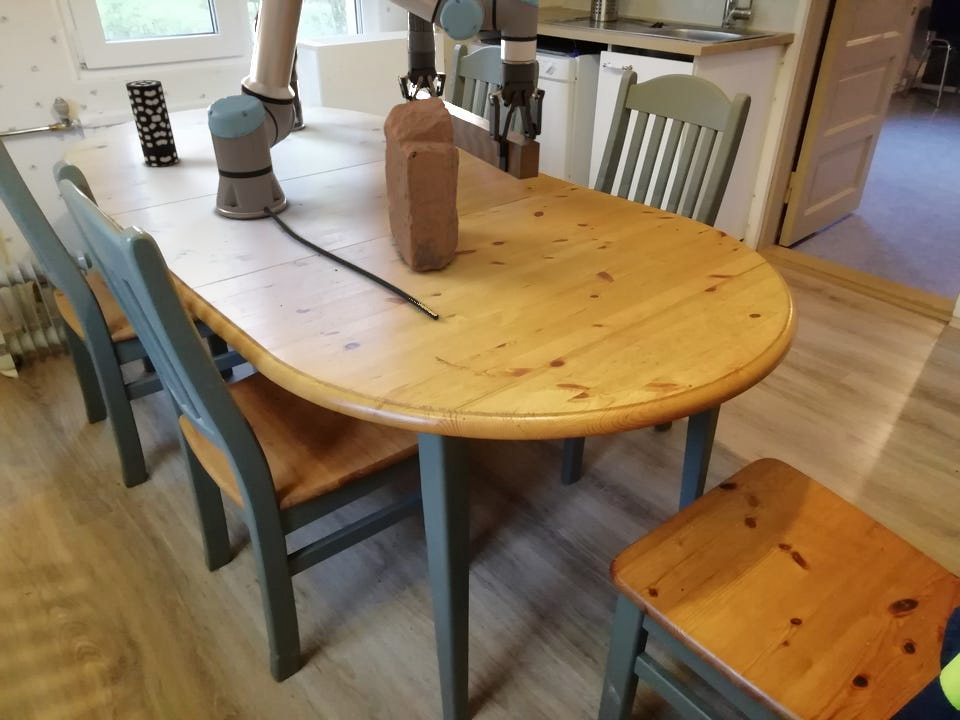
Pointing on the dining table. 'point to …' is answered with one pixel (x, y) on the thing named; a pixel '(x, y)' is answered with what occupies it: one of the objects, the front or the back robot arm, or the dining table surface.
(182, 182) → the dining table surface
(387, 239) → the dining table surface
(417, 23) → the back robot arm
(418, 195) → the stone
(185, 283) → the dining table surface
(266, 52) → the front robot arm
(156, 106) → the black white spotted cylinder
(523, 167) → the beam
